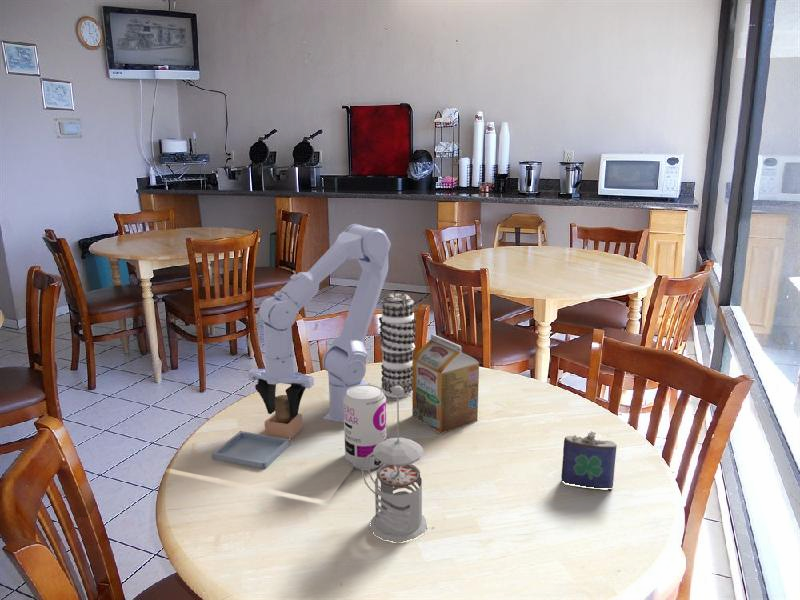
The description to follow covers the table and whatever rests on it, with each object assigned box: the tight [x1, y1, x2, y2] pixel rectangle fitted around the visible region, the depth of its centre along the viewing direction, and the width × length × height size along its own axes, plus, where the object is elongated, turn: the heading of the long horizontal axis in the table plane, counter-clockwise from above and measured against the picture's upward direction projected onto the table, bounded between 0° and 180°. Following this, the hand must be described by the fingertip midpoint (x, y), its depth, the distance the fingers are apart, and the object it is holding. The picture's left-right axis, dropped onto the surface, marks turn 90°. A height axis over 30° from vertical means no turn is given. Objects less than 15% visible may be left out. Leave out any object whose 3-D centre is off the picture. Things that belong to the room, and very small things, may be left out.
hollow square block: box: [264, 412, 303, 441], centre depth 132 cm, size 6×6×4 cm
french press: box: [361, 386, 428, 542], centre depth 99 cm, size 10×12×25 cm
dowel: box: [274, 394, 291, 424], centre depth 131 cm, size 3×3×8 cm
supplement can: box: [343, 384, 388, 471], centre depth 120 cm, size 8×8×15 cm
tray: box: [211, 430, 291, 470], centre depth 124 cm, size 12×10×2 cm
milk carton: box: [411, 333, 480, 434], centre depth 137 cm, size 11×11×19 cm
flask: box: [560, 431, 617, 489], centre depth 111 cm, size 9×3×11 cm, turn 74°
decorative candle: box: [378, 292, 418, 399], centre depth 151 cm, size 9×9×25 cm
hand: (283, 413), depth 131 cm, fingers open, 5 cm apart
